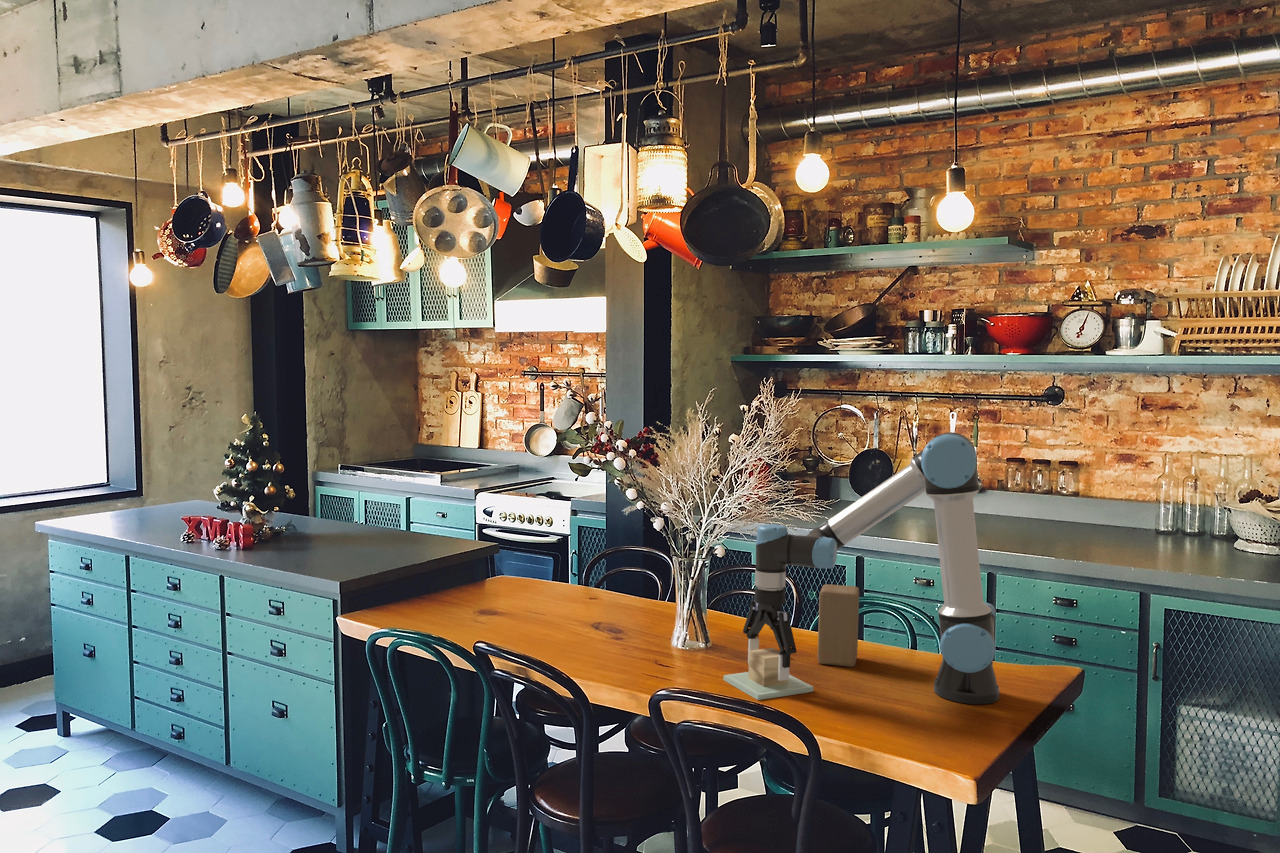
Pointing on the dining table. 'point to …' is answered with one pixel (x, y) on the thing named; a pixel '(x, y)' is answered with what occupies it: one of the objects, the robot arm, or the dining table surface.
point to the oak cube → (764, 667)
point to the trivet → (767, 692)
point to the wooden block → (838, 625)
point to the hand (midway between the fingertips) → (767, 671)
